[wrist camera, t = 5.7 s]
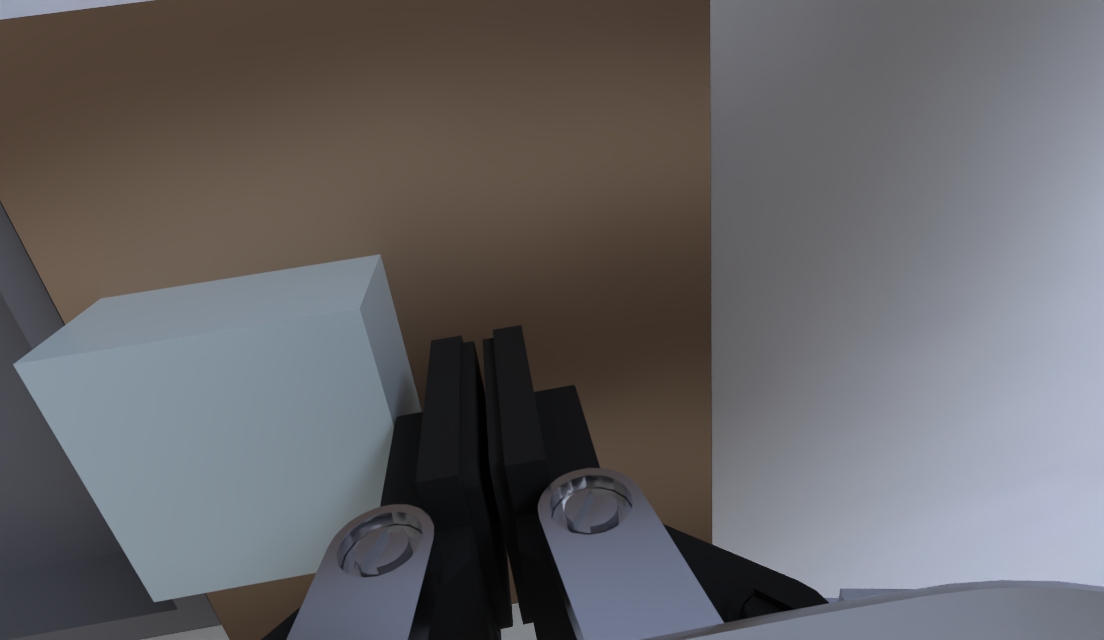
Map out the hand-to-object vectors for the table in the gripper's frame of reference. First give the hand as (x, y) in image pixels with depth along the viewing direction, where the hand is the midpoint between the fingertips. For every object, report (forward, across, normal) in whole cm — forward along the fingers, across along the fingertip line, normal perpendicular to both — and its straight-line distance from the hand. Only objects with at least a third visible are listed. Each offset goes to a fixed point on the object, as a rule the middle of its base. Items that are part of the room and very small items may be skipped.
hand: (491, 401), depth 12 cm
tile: (+1, +4, 0) cm, 4 cm away
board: (+5, +1, 0) cm, 5 cm away
